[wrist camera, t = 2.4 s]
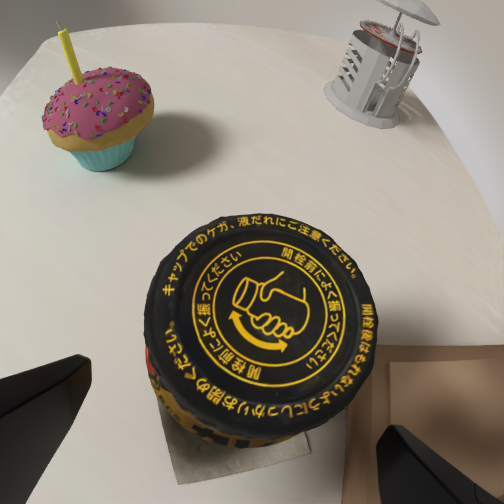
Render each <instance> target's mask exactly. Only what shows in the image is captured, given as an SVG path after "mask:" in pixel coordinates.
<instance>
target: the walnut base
mask: <svg viewBox="0 0 504 504" xmlns="http://www.w3.org/2000/svg"><path fill="white" fill-rule="evenodd" d="M390 424H400V425H403V426H404V427H405V428H406V429H408V430H409V431H410V432H411V433H413V434H414V435H415V436H416V437H418V438H419V439H420V440H421V441H423V442H424V443H425V444H426V445H427V446H429V447H430V448H431V449H433V450H434V451H435V452H436V453H438V454H439V455H440V456H441V457H443V458H444V459H445V460H446V461H448V462H449V463H450V464H452V465H453V466H454V467H455V468H457V469H458V470H459V471H461V472H462V473H463V474H464V475H466V476H467V477H468V478H470V479H471V480H472V481H473V482H474V483H476V484H478V485H479V486H480V487H482V488H483V489H484V490H486V491H487V492H488V493H490V494H491V495H493V496H494V497H496V498H497V499H499V500H501V501H502V502H504V345H484V346H397V345H376V349H375V359H374V366H373V369H372V371H371V373H370V375H369V376H368V378H367V379H366V380H365V382H364V383H363V385H362V387H361V388H360V389H359V391H358V392H357V394H356V396H355V397H354V399H353V400H352V401H351V402H350V404H348V405H347V432H346V452H345V468H344V481H343V492H342V503H341V504H381V500H380V494H379V487H378V473H377V457H376V444H377V442H378V440H379V439H380V437H381V436H382V434H383V433H384V431H385V429H386V428H387V427H388V426H389V425H390Z"/></svg>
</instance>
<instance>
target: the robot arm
mask: <svg viewBox="0 0 504 504" xmlns="http://www.w3.org/2000/svg"><path fill="white" fill-rule="evenodd" d="M91 382H92V370H91V360H90V359H89V358H88V357H85V356H83V355H80V354H76V355H73V356H70V357H67V358H64V359H61V360H58V361H55V362H52V363H49V364H46V365H43V366H40V367H37V368H34V369H31V370H27V371H24V372H21V373H18V374H15V375H12V376H8V377H5V378H2V379H0V504H26V502H27V500H28V498H29V496H30V495H31V493H32V491H33V489H34V488H35V486H36V484H37V483H38V481H39V479H40V477H41V476H42V474H43V472H44V471H45V469H46V467H47V466H48V464H49V462H50V461H51V459H52V457H53V456H54V454H55V452H56V451H57V449H58V447H59V446H60V444H61V443H62V441H63V439H64V438H65V436H66V435H67V433H68V431H69V430H70V428H71V426H72V424H73V422H74V420H75V418H76V416H77V414H78V412H79V410H80V407H81V405H82V403H83V401H84V399H85V397H86V395H87V393H88V391H89V389H90V386H91ZM376 457H377V473H378V487H379V494H380V500H381V504H504V502H502V501H501V500H499V499H497V498H496V497H494V496H493V495H491V494H490V493H488V492H487V491H486V490H484V489H483V488H482V487H480V486H479V485H478V484H476V483H474V482H473V481H472V480H471V479H470V478H468V477H467V476H466V475H464V474H463V473H462V472H461V471H459V470H458V469H457V468H455V467H454V466H453V465H452V464H450V463H449V462H448V461H446V460H445V459H444V458H443V457H441V456H440V455H439V454H438V453H436V452H435V451H434V450H433V449H431V448H430V447H429V446H427V445H426V444H425V443H424V442H423V441H421V440H420V439H419V438H418V437H416V436H415V435H414V434H413V433H411V432H410V431H409V430H408V429H406V428H405V427H404V426H403V425H400V424H390V425H389V426H388V427H387V428H386V429H385V431H384V433H383V434H382V436H381V437H380V439H379V440H378V442H377V444H376Z"/></svg>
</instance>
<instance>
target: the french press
mask: <svg viewBox="0 0 504 504" xmlns="http://www.w3.org/2000/svg"><path fill="white" fill-rule="evenodd" d="M377 1H379V2H380V3H383V4H384V5H387V6H388V7H391V8H393V9H395V10H397V11H399V12H400V14H399V16H398V19H397V21H396V24H395V26H394V28H392V29H391V27H389V28H388V27H387V26H386V25H383V24H381V23H378V24H377V22H375V23H374V22H373V21H369V20H366V21H365V20H364V21H360V26H361V28H363V30H364V31H363V30H356V31H354V32H353V34H352V37H351V39H350V42H349V45H353V46H354V47H355V49H356V50H350V49H349V48H347V50H346V54H347V55H349V56H350V57H351V59H346V58H345V57H344V59H343V62H342V63H344V64H345V65H346V68H345V67H340V70H339V72H340V73H341V74H342V75H343V76H338V75H337V77H336V80H335V81H332V82H330V83H327V84H326V85H325V87H324V89H323V91H324V93H325V96H326V99H327V100H328V101H329V102H330V103H331V104H332V105H333V106H334V107H335V108H336V109H337V110H339V111H341V112H342V113H344V114H345V115H347V116H348V117H350V118H351V119H354V120H356V121H358V122H361V123H363V124H365V125H368V126H372V127H376V128H381V129H386V128H394V127H395V126H396V125H397V124H399V115H398V112H397V110H396V108H397V107H398V105H399V103H400V101H401V99H402V97H403V95H404V93H405V91H406V89H407V88H405V89H404V87H405V86H406V87H408V85H409V82H410V81H411V79H412V77H413V75H414V73H415V71H416V70H417V67H418V65H419V63H420V62H419V59H418V58H417V54H420V53H422V50H421V47H420V46H419V40H420V36H419V31H418V30H415V32H414V34H413V35H412V36H411V37H408V36H406V35H403V33H404V28H403V23H399V25H398V22H399V20H400V18H401V15H402V13H403V14H405V15H407V16H410V17H412V18H414V19H416V20H419V21H421V22H423V23H426V24H429V25H433V26H437V25H440V23H439V21H438V19H437V18H436V16H435V15H434V13H433V12H432V11H431V10H430V9H429V8H428V7H427V6H426V5H425V4H424V3H423V2H422V1H421V0H377ZM397 25H398V27H397ZM396 27H397V31H396ZM400 27H401V32H399V29H400ZM416 33H417V43H416V42H414V41H412V39H413V38H414V37H415V35H416ZM410 39H411V40H410ZM357 54H358V56H357V58H356V56H355V55H357ZM390 57H392V58H393V62H392V63H391V62H390V61H389V60H390ZM396 61H397V63H396V65H395V62H396ZM350 63H354V66H353V67H352V66H351V64H350ZM387 66H389V67H390V68H389V70H388V71H387V70H386V67H387ZM392 70H393V71H392ZM349 71H350V73H351V74H350V75H347V73H346V72H349ZM391 71H392V74H391V73H390V72H391ZM383 73H384V74H385V76H384V78H383V77H382V76H383ZM387 77H388V78H389V80H388V82H387V81H386V80H385V79H386V78H387ZM409 77H410V78H411V79H410V80H408V79H409ZM379 83H382V84H384V85H385V88H384V89H383V88H381V87H380V86H379V85H378V84H379ZM400 95H402V97H400Z"/></svg>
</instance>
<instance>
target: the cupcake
mask: <svg viewBox="0 0 504 504" xmlns="http://www.w3.org/2000/svg"><path fill="white" fill-rule="evenodd" d="M57 24H58V27H59V29H60V32H58V35H59V38H60V41H61V44H62V47H63V50H64V53H65V56H66V59H67V62H68V65H69V68H70V70H71V73H72V76H73V79H71V80H69V81H68V82H67V83H65V85H64V86H62V87H61V88H59V90H57V92H56V91H55V94H54V96H50V99H51V98H52V99H51V101H50V102H49V103H47V105H46V107H47V109H46V107H45V110H44V113H45V114H44V117H43V116H41V118H42V117H43V118H42V121H43V128H44V130H47V131H48V134H49V137H50V139H51V141H52V142H53V144H54V145H55V146H56V147H59V148H62V149H64V150H66V151H69V152H70V153H71V154H72V155H73V156H74V157H75V158H76V159H77V160H78V162H79V163H80V164H81V165H82V166H83V167H84V168H86V169H88V170H91V171H105V170H109V169H112V168H115V167H117V166H119V165H120V164H122V163H123V162H125V161H126V160H127V159H128V158H129V156H130V155H131V153H132V151H133V146H134V142H135V138H136V135H137V134H138V133H139V132H140V131H141V130H142V129H143V128H144V127H145V126H147V125H148V124H149V123H150V121H151V119H152V116H153V113H154V99H153V95H152V93H151V88H150V86H149V84H148V83H147V81H145V79H143V78H142V77H141V75H138V74H136V73H135V72H133V73H132V72H129V71H127V70H122V69H117V68H112V67H108V68H104V69H101V68H99V69H97V70H93V71H87V73H86V72H85V73H84V74H81V71H80V68H79V65H78V62H77V59H76V56H75V53H74V50H73V47H72V43H71V40H70V37H69V34H68V30H67V29H63V28H62V26H61V23H60V22H59V21H57Z"/></svg>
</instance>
